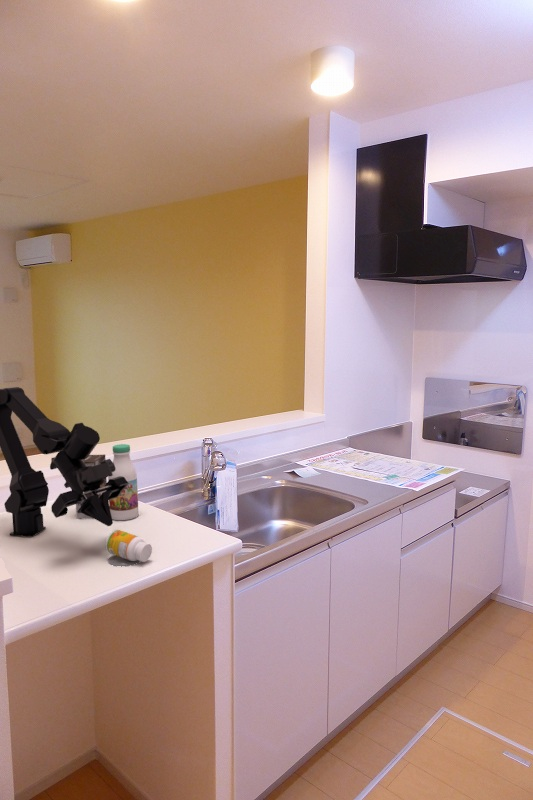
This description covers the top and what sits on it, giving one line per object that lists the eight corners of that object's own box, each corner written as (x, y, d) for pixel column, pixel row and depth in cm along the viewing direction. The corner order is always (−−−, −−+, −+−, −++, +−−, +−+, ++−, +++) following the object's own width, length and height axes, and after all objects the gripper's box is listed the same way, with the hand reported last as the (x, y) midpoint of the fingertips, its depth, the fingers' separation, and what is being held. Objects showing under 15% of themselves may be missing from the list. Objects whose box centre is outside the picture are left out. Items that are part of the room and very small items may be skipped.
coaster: (102, 566, 129) (102, 564, 129) (117, 553, 136) (117, 551, 136) (134, 568, 127) (134, 567, 127) (147, 555, 134) (147, 554, 134)
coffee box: (86, 508, 170) (83, 454, 168) (108, 508, 169) (106, 454, 167) (75, 519, 160) (72, 461, 158) (99, 518, 160) (96, 461, 158)
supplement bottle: (123, 528, 136) (156, 539, 132) (118, 551, 136) (151, 563, 131) (107, 529, 131) (141, 541, 127) (102, 553, 131) (136, 566, 127)
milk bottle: (107, 514, 164) (104, 444, 162) (135, 510, 167) (132, 441, 165) (112, 522, 157) (108, 449, 154) (141, 518, 160) (138, 446, 157)
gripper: (56, 458, 126) (94, 515, 121) (121, 443, 142) (156, 493, 137) (35, 489, 131) (71, 545, 127) (100, 471, 147) (134, 521, 142)
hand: (110, 524), depth 133 cm, fingers closed
